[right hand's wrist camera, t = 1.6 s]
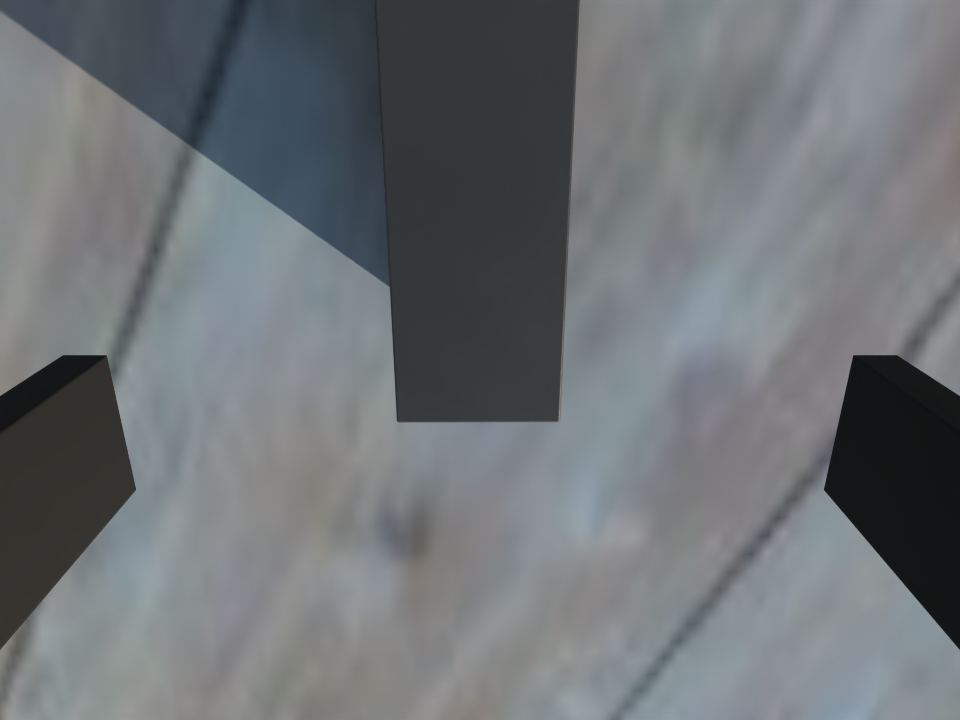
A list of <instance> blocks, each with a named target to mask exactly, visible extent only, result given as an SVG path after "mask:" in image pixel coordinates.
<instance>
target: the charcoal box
mask: <svg viewBox="0 0 960 720" xmlns="http://www.w3.org/2000/svg"><path fill="white" fill-rule="evenodd" d="M579 2H580V0H375V12H376V31H377V50H378V69H379V88H380V107H381V126H382V145H383V164H384V183H385V202H386V221H387V240H388V259H389V278H390V297H391V316H392V335H393V354H394V373H395V392H396V411H397V421H398V422H559V421H560V409H561V388H562V366H563V345H564V324H565V302H566V281H567V259H568V238H569V216H570V195H571V174H572V152H573V131H574V109H575V88H576V66H577V45H578V24H579Z"/></svg>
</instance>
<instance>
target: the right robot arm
mask: <svg viewBox="0 0 960 720" xmlns="http://www.w3.org/2000/svg"><path fill="white" fill-rule="evenodd" d="M135 490H136V487H135V483H134V478H133V474H132V469H131V465H130V460H129V455H128V451H127V446H126V442H125V437H124V433H123V428H122V423H121V419H120V414H119V410H118V405H117V401H116V396H115V391H114V387H113V382H112V378H111V373H110V369H109V364H108V359H107V355H63V356H61V357H60V358H58V359H57V360H55V361H54V362H52V363H51V364H49V365H47V366H46V367H44V368H43V369H41V370H40V371H38V372H37V373H35V374H34V375H32V376H30V377H29V378H27V379H26V380H24V381H23V382H21V383H20V384H18V385H17V386H15V387H14V388H12V389H10V390H9V391H7V392H6V393H4V394H3V395H1V396H0V649H1V648H2V647H3V646H4V645H5V643H6V642H7V641H8V640H9V639H10V638H11V636H12V635H13V634H14V633H15V632H16V631H17V629H18V628H19V627H20V626H21V625H22V623H23V622H24V621H25V620H26V619H27V618H28V616H29V615H30V614H31V613H32V612H33V611H34V609H35V608H36V607H37V606H38V605H39V603H40V602H41V601H42V600H43V599H44V598H45V596H46V595H47V594H48V593H49V592H50V591H51V589H52V588H53V587H54V586H55V585H56V583H57V582H58V581H59V580H60V579H61V578H62V576H63V575H64V574H65V573H66V572H67V570H68V569H69V568H70V567H71V566H72V565H73V563H74V562H75V561H76V560H77V559H78V558H79V556H80V555H81V554H82V553H83V552H84V550H85V549H86V548H87V547H88V546H89V545H90V543H91V542H92V541H93V540H94V539H95V538H96V536H97V535H98V534H99V533H100V532H101V530H102V529H103V528H104V527H105V526H106V525H107V523H108V522H109V521H110V520H111V519H112V518H113V516H114V515H115V514H116V513H117V512H118V510H119V509H120V508H121V507H122V506H123V505H124V503H125V502H126V501H127V500H128V499H129V498H130V496H131V495H132V494H133V493H134V492H135ZM824 490H825V492H826V493H827V494H828V495H829V496H830V498H831V499H832V500H833V501H834V502H835V503H836V505H837V506H838V507H839V508H840V509H841V510H842V512H843V513H844V514H845V515H846V516H847V518H848V519H849V520H850V521H851V522H852V523H853V525H854V526H855V527H856V528H857V529H858V530H859V532H860V533H861V534H862V535H863V536H864V538H865V539H866V540H867V541H868V542H869V543H870V545H871V546H872V547H873V548H874V549H875V550H876V552H877V553H878V554H879V555H880V556H881V558H882V559H883V560H884V561H885V562H886V563H887V565H888V566H889V567H890V568H891V569H892V570H893V572H894V573H895V574H896V575H897V576H898V578H899V579H900V580H901V581H902V582H903V583H904V585H905V586H906V587H907V588H908V589H909V591H910V592H911V593H912V594H913V595H914V596H915V598H916V599H917V600H918V601H919V602H920V603H921V605H922V606H923V607H924V608H925V609H926V611H927V612H928V613H929V614H930V615H931V616H932V618H933V619H934V620H935V621H936V622H937V623H938V625H939V626H940V627H941V628H942V629H943V631H944V632H945V633H946V634H947V635H948V636H949V638H950V639H951V640H952V641H953V642H954V643H955V645H956V646H957V647H958V648H959V649H960V396H959V395H957V394H956V393H954V392H953V391H951V390H950V389H948V388H946V387H945V386H943V385H942V384H940V383H939V382H937V381H936V380H934V379H933V378H931V377H930V376H928V375H926V374H925V373H923V372H922V371H920V370H919V369H917V368H916V367H914V366H913V365H911V364H909V363H908V362H906V361H905V360H903V359H902V358H900V357H899V356H897V355H853V359H852V364H851V369H850V373H849V378H848V382H847V387H846V391H845V396H844V401H843V405H842V410H841V414H840V419H839V423H838V428H837V433H836V437H835V442H834V446H833V451H832V455H831V460H830V465H829V469H828V474H827V478H826V483H825V487H824Z"/></svg>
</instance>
